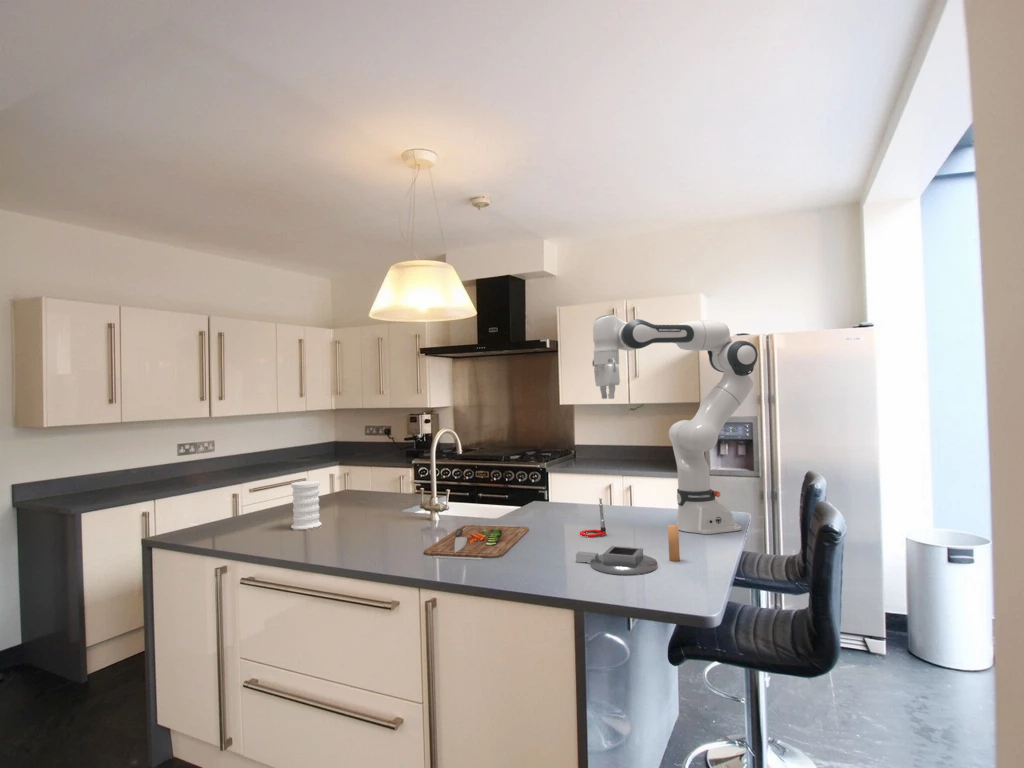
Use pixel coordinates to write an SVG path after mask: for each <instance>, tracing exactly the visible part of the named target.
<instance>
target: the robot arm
mask: <svg viewBox="0 0 1024 768" xmlns="http://www.w3.org/2000/svg"><path fill="white" fill-rule="evenodd" d="M592 333H593V335H592V337H593V339H592V340H593V343H594V349H593V359H592V362H591V363H592V367H594V368H593V371H594V372H593V374H594V382H595V386H596V387H599V391H600V394H601V399H603V400H604V399H607V398H608V399H609V400H613V399H615V394H616V393H615V392H616V386H619V385H620V382H621V379H620V368H619V367H620V366H619V365H620V356H619V353H620V352H619V350H622V351H626V352H631V351H634V350H637V349H643V348H645V347H648V346H649V345H651V344H676V346H677V347H678V348H679V349H681V350H683V351H684V350H685V351H693V352H694V351H698V352H699V351H700V352H701V351H707V354H708V361H709V365H710V366H711V367H712V368H713V369H714V370H715V371H717V372H719V373H722V377H721V379H720V381H719V382H718V383H717V384H716V385H715V386H714V387H713V388H712V389H711V390H710V391H709V393H708V394H707V395H705V397H704V398H703V399H702V401H701V402H700V404H699V408H698V410H697V412H696V413H695V415H694V417H693V418H692V419H690V420H687V419H682V420H679V421H676V422H675V423H673V424H672V425H671V426H670V428H669V430H668V438H669V440H670V442H671V445H672V450H673V454H674V458H675V463H676V471H677V490H676V494H677V495H676V502H677V504H678V505H677V516H676V523H675V525H678V528H679V531H681V532H686V533H695V534H702V535H712V534H721V533H729V532H737V531H741V530H742V526H741V525H739V524H738V523H736V522H735V520H734V516H733V513H732V511H731V510H730V509H729V508H727V507H726V506H725V505H724V504H723V503H721V502H719V501H718V500H717V499H716V498H720V497H721V493H720V491H719V490H718V491H717V490H713V489H711V479H710V478H711V477H710V475H711V474H710V466H709V464H708V463H707V460H706V457H705V452H709V451H711V450H713V449H714V448H715V447H716V445H717V444H718V440H719V438H718V437H719V435H720V433H721V431H722V429H723V427H724V426H725V424H726V422H727V421H728V420H729V419H730V417H732V415H733V414H734V413H735V412H737V410H738V409H739V407H741V405H742V404H743V402H744V401H745V399H747V397H748V395H749V394H750V392H751V390H752V389H753V386H754V382H753V380H752V378H751V376H750V374H752V373H753V371H754V368H755V366H756V363H757V361H758V356H759V353H758V349H757V347H756V346H755V345H754V344H753V343H751V342H749V341H746V340H737V341H733V340H732V339H731V332H730V329H729V327H728V325H727V324H726V323H724V322H720V321H713V320H704V319H703V320H701V319H699V320H697V319H696V320H688V321H684V322H680V323H678V324H677V323H676V324H655V323H654V324H653V323H651V322H648V321H646V320H644V319H640V318H637V319H632V320H630V321H629V322H628V321H624V320H622V319H621V318H619V317H617V316H616V314H606V315H601V316H598V318H596V319H595V320H594V323H593V328H592ZM607 389H608V393H607Z"/></svg>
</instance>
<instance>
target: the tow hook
mask: <svg viewBox="0 0 1024 768" xmlns="http://www.w3.org/2000/svg"><path fill="white" fill-rule="evenodd" d="M602 498H603V497H599V507H598V508H599V519H600V520H599V521H600V526H599V527H600V529H584V530H581V531H579V533H578V534H580V535H582V536H588V537H587V538H597V537H604V536H605V537H607V531H606V524H605V522H606V520H605V517H604V516H605V515H604V504H603V502H602ZM586 532H593V533H590V534H589V533H586ZM594 532H597V533H594ZM584 533H585V534H584ZM580 535H579V536H580ZM582 536H581V537H582ZM596 536H597V537H596Z"/></svg>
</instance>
